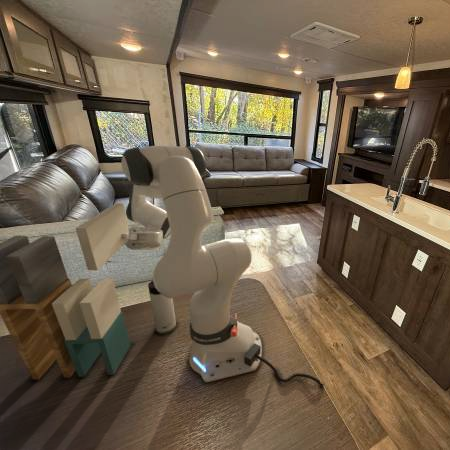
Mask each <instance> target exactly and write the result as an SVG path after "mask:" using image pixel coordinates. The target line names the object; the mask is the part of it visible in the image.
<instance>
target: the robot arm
mask: <svg viewBox="0 0 450 450" xmlns="http://www.w3.org/2000/svg"><path fill="white" fill-rule="evenodd" d="M121 170H122V172H123V174H124V176H125V177H126V179H128V181H129V183H131V184H130V189H129V197H128V203H127V205H126V209H125V214H126V219H128V221H131V222H132V223H133V222H134V223H135V224H138V225H140V226H137V225H136V226H131V227H130V228H128V229H129V234H122V239H130V240H129V241H128V242H127V243H126V244H125V245H124V246H125V247H127V249H129V250H132V251H153V250H156V249H158V248H161V247H162V245H163V244H164V242H165V239H166V238H168V237H169V242H168V245H167V248H166V250H165V252H164V254H163V255H162V256H161V258H160V259H159V260H158V261H157V263H156V264H155V266H154V268H153V272H152V281H153V282H154V285H155V287H156V289H157V290H158V291H159V292H160V293H161V294H162V295H164V296H165V297H168V298H172V299H175V298H181V297H185V296H189V295H192V297H190V301H189V305H188V307H189V317H190V323H189V335H190V339H191V350H190V353H189V357H188V361H189V365H190V367H191V369H192V370H193V371H195V372H196V373H198V374H199V375H200V377H201V378H202V380H203V381H204V382H205V383H210V382H215V381H218V380H222V379H226V378H230V377H235V376H239V375H242V374H247V373H250V372H254V371H256V370H257V369H258V368H259V366H260V363H261V362H263V364H266V366H268V367H269V368H270V369H271V370H272V371H273V372H274V373H275V376H276V377H277V379H278V380H279V381H280V382H282V383H289V382H290V381H292V379H294V378H297V377H299V378H300V377H301V378H307V379H310V380H312V381H314V382H315V383H317V384H318V385H319V386H320V387H321V388H324V387H325V385H324V383H323V382H322V381H321V380H320V379H318V378H316V377H315V376H313V375H310V374H307V373H299V372H298V373H293V374H292V375H290V376H289V377H287V378H283V377H281V375H280V373H279V371H278V370H277V369H276V367H275V366H274V365H273V364H272V363H271V362H269V360H267V359H265V358H263V357H262V355H263V347H262V346H263V345H262V340H261V338H260V335H259V334H258V333H257V332H254V331H253V329H252V328H251V326H249V325H246V324H245V323H242V322H240V321H238V317H237V316H238V315H237V312H236V313H235V314H234V316H233V315H232V314H231V302H232V301H231V300H232V296H233V292H234V290H235V288H236V285H237V283H238V282H239V280H240V278H241V277H242V275H243V274H244V273H245V272H246V271H247V270H248V269H249V267H250V266H251V264H252V257H253V256H252V250H251V248H250V246H249V245H248V244H247V242H246V241H244V239H242V238H225V239H221V240H216V241H214V242H210V243H206V244H203V245H202V243H201V236H202V234H203V233H204V232H206V231H207V230H208V229H209V228H210V227H211V225H212V224H213V223H214V218H215V215H214V211H213V208H212V205H211V201H210V198H209V196H208V192H207V189H206V186H205V183H204V180H203V178H204V176H205V175H206V172H207V163H206V158H205V155H204V154H203V152H202V151H201V150H200V149H199V148H197V147H195V146H189V145H185V146H177V145H151V146H144V147H137V146H136V147H132V148H128V149H125V150H124V152H123V153H122V158H121ZM147 197H148V198H151V199H161V200H162V203H163V205H164V209H162V208H161V207H158V206H157V205H155V204H153V203H151V202H149V201H148V200H147V199H146V198H147ZM320 382H321V383H322V384H321V383H320ZM322 385H323V386H324V387H323V386H322Z"/></svg>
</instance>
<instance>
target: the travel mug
mask: <svg viewBox="0 0 450 450" xmlns="http://www.w3.org/2000/svg"><path fill="white" fill-rule="evenodd" d="M147 287H148V293H149V300H150V305H151V310H152V315H153V321H154V327H155V331H156V332H157V333H158V334H161V335H162V334H169V333H171V332H172V331H173V330H174V329H175V328H176V326H177V321H176V314H175V308H174V307H175V306H174V300H173V299H174V298H168V297H165V296H164V295H162V294H161V293H160V292H159V291H158V290H157V289H156V287H155V285H154V282H153V280H151V281H150V282H148V284H147Z"/></svg>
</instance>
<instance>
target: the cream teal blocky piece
mask: <svg viewBox="0 0 450 450" xmlns="http://www.w3.org/2000/svg"><path fill="white" fill-rule="evenodd" d="M52 306H53V309H54V311H55V314H56V316H57V319H58V321H59V324H60V327H61V329H62V332H63V334H64V337H65V340H64V341H65V344H66V346H67V349H68V351H69V354H70V356H71V359H72V361H73V364H74V366H75V369H76V370H75V372H76V374H77V376H78V377H85V376H86V375H87V373H88V372H89V370H90V369H91V368H92V366H93V365H94V363H95V361H96V360H97V359H98V358H99V356H100V355H101V356H102V360H103V363H104V366H105V369H106V372H107V373H106V374H107V375H109V376H110V375H115V373H116V372H117V370H118V368H119V366H120V365H121V363H122V361H123V360H124V358H125V356H126V355H127V353H128V351H129V349H130V347H131V346H132V345H131V344H132V343H131V340H130V337H129V331H128V328H127V324H126V321H125V316H124V312H123V311H122V309H121V305H120V302H119V298H118V293H117V290H116V285H115V281H114V278H111V277H110V278H109V277H108V278H107V277H105V278H102V279H101V280H100V282H98V283H97V285H95V286H94V287H93V285H92V283H91V280H90V278H79V279H77V280H76V281H75V282H74V283H72V286H71V287H70V288H69V289H67V290H66V291H65V292H64V293H63V294H62V295H61V296H60V297H58V298H57V299H56V300H55V301H54V302H53V303H52Z"/></svg>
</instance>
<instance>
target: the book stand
mask: <svg viewBox="0 0 450 450" xmlns="http://www.w3.org/2000/svg"><path fill="white" fill-rule="evenodd" d="M72 285H73V283H72V280H71V279H70V278H69V276H68V273H67V271H66V268H65V265H64V261H63V259H62V256H61V252H60V249H59V246H58V244H57V240H56V238H55V236H54V235H42V236H41V237H39V238H37V239H35V240H33V241H32V242H30V240H29V237H28V235H14V236H12V237H10V238H8V239H6V240H4V241H1V242H0V317H1V319H2V321H3V323H4V325H5V327H6V329H7V331H8V333H9V336H10V337H11V339H12V341H13V343H14V346H15V347H16V349H17V351H18V353H19V355H20V357H21V358H22V361H23V363H24V365H25V367H26V368H27V371H28V373H29V375H30V377H31V379H32V380H40V379H41V377H43V376H44V374H45V373H46V372H47V371H48V370H49V368H50V367H51V366H52V365H53V364H54V363H55V361H56V362H57V364H58V366H59V369H60V371H61V373H62V376H63V378H71V377H72V376H73V375H74V373H75V372H76V369H75V366H74V364H73V361H72V359H71V356H70V354H69V351H68V349H67V346H66V344H65V341H64V340H65V337H64V334H63V332H62V329H61V327H60V324H59V321H58V319H57V316H56V314H55V311H54V309H53V306H52V303H53V302H54V301H55V300H56V299H57V298H58V297H60V296H61V295H62V294H63V293H64V292H65V291H66V290H67V289H69V288H70V287H71V286H72Z"/></svg>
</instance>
